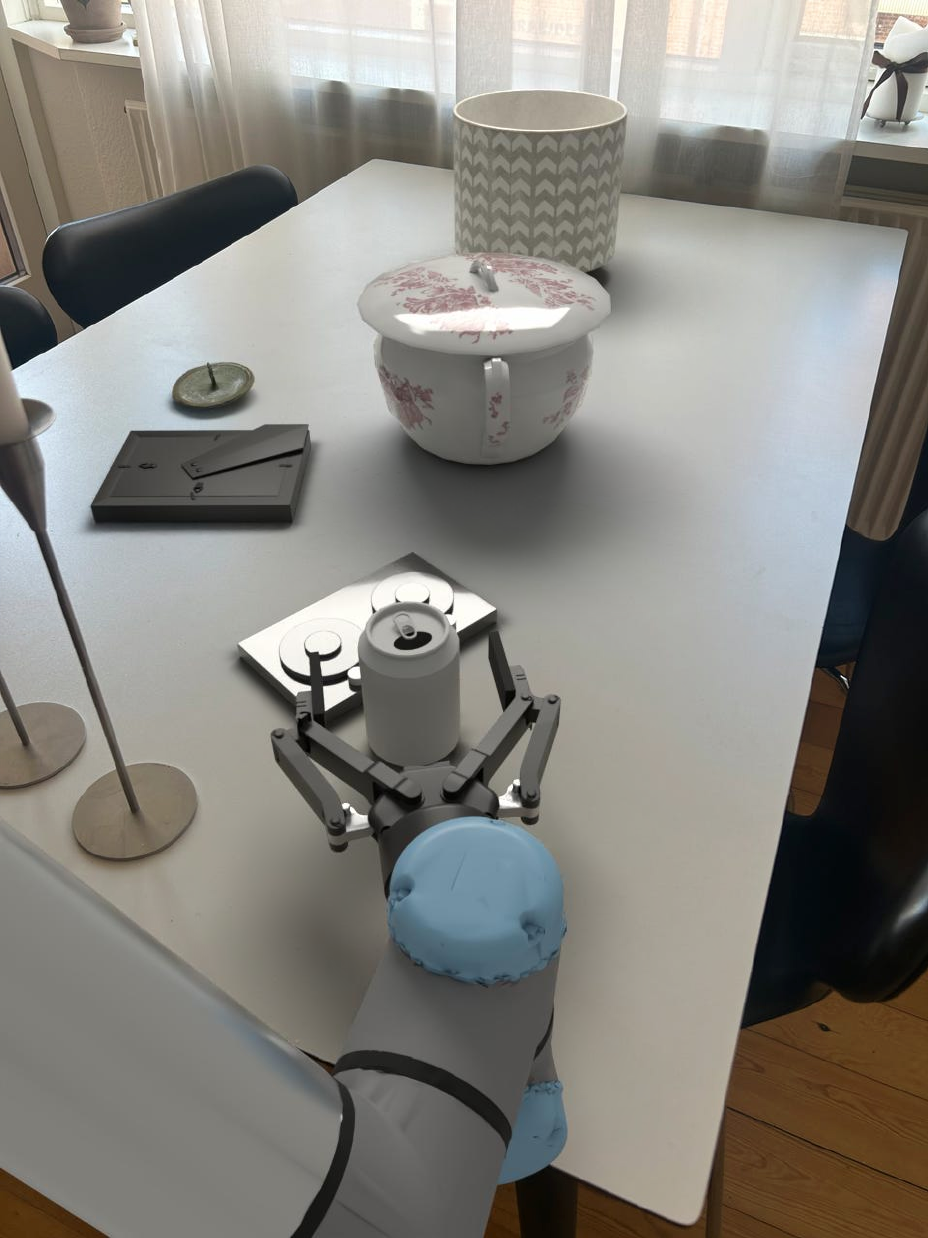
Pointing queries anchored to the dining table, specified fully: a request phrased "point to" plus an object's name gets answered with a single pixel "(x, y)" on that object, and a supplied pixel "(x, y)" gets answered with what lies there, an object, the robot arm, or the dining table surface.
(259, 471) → the picture frame
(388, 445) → the dining table surface
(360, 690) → the hob
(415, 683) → the can
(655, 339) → the dining table surface
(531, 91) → the planter
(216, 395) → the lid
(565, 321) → the chamber pot
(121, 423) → the dining table surface
